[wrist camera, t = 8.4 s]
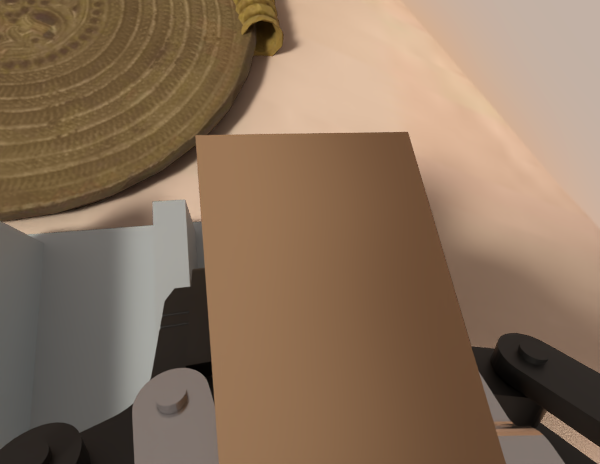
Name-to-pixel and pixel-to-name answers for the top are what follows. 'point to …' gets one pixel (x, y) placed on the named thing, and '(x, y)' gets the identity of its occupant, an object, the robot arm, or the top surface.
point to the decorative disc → (115, 90)
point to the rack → (86, 316)
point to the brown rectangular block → (333, 306)
